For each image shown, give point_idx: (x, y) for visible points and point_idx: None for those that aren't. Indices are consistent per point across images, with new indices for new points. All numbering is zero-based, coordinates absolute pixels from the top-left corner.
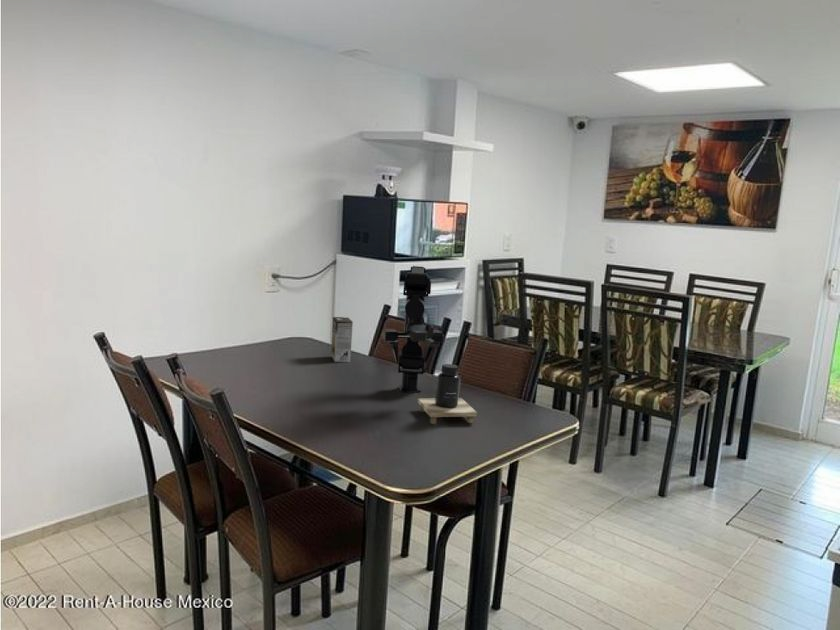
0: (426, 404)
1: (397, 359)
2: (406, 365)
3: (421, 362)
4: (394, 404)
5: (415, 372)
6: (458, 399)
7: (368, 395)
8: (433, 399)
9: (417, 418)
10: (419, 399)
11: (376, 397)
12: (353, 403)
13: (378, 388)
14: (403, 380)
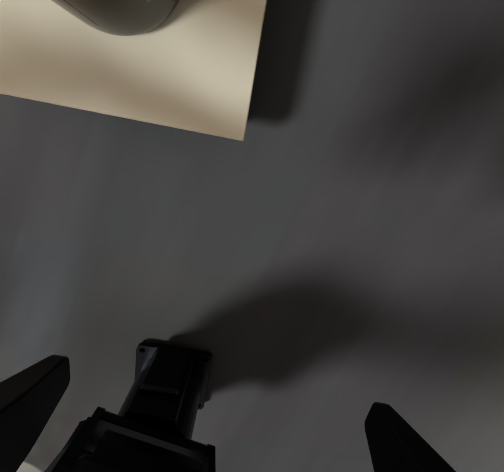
0: (243, 4)
1: (403, 433)
2: (179, 467)
3: (74, 469)
4: (308, 231)
5: (132, 425)
6: (2, 61)
7: (351, 347)
8: (160, 99)
9: (304, 3)
10: (242, 119)
11: (334, 322)
12: (457, 277)
13: (277, 404)
14: (194, 404)
